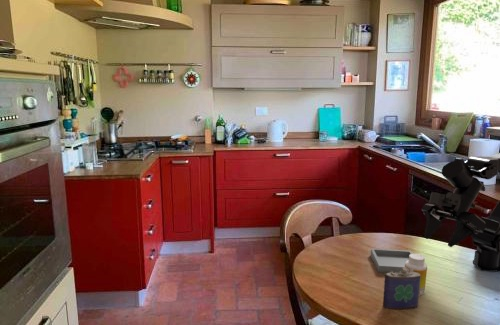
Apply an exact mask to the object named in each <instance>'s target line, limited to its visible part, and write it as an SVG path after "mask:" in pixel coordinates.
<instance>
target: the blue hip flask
mask: <svg viewBox="0 0 500 325" xmlns="http://www.w3.org/2000/svg"><path fill="white" fill-rule="evenodd" d="M402 269H403V270H402V271H400V272H399V273H397V272H395V273H393V272H390V273H386V274H384V286H383V288H384V289H383V301H382V307H383V309H385V310H391V311H402V310H404V311H405V310H415V309H417V308H418V306H419V297H420V295H419V289H420V279H421V275H420V274H419V273H416V272H411V273H407V269H406V268H404V267H402Z"/></svg>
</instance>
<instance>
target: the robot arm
mask: <svg viewBox="0 0 500 325" xmlns="http://www.w3.org/2000/svg"><path fill="white" fill-rule="evenodd" d="M499 171H500V152H499V153H496V154H492V155H489V156H481V155H480V156H478V155H477V156H470V157H468V158H467V160H466V161H465V160H464V159H463V158H460V157H455V158H454V160H451V161H450V162H448V163H446V164H445V165H443V167H442V169H441V175H442V177H444V178H445V180H446V181H447V182H449V183H450V185H452V187H454V188H455V189H454V190H453V192H447V193H446V194H443V193H438V192H431V193H430V198H429V201H428V203H425V204H423V205H422V208H421V209H420V210H421V211H422V212H423V215H424V216H425V219H426V222H425V223H426V224H425V229H424V238H425V240H429V239H430V237H432V235H433V234H434V233H436V231H437V230H438V229H439V228H440V227H441V226H442V225H443V221H445V219H448V220H450V221H454V222H455V229H454V231H453V233H452V234H451V236H450V238H449V240H448V243H447V246H448V247H449V248H452V247H454V246H455V245H458V243H460V242H463V240H465V239H467V238H469V237H471V241H472V242H471V243H472V245H473V246H476V247H477V248H476V250H475V251H474V255H473V256H474V257H473V260H472V263H473V264H474V265H475V266H476V267H477V268H479V269H480V271H483V272H484V271H486V272H500V199H499V200H498V202H497V203H496V204H495V207H494V208H493V210H492V212H490V214H489V216H487V217H483V216H481V217H480V216H478V215H477V214H475V213H473V212H469V210H470V209H475V208H476V204H474V202H475V200H476V198H477V197H478V195H479V193H480V191H481V192H485V191H486V186H485V184H484V181H481V180H479V179H483V180H487V181H488V180H491V179H493V178H494V177H496V176H497V175H498V173H499Z"/></svg>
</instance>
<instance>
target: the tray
mask: <svg viewBox="0 0 500 325" xmlns="http://www.w3.org/2000/svg"><path fill="white" fill-rule="evenodd" d="M410 254H414V253H413V251H412V250H406V249H405V250H404V249H384V248H370V258H371V260H372V262H373V264H374V266H375V269H376V271H377V273H378V274H381V275H383V274H384V275H385V274H386V273H390V272H393V273H395V272H397V273H399V272H400V271H402V270H403V269H402V267H404V268H405V262H406V261H408V260H409V255H410Z"/></svg>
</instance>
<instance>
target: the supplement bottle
mask: <svg viewBox="0 0 500 325" xmlns="http://www.w3.org/2000/svg"><path fill="white" fill-rule="evenodd" d="M425 260H426V257H425V256H423V255H422V254H419V253H413V254H410V255H409V260H408V261H406V262H405V268H406V269H407V273H411V272H416V273H419V274H420V275H421V279H420V289H419V296H421V295H424V294H425V291H426V284H427V283H426V281H427V270H428V265H427V264H426V263H425V262H426V261H425Z"/></svg>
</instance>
